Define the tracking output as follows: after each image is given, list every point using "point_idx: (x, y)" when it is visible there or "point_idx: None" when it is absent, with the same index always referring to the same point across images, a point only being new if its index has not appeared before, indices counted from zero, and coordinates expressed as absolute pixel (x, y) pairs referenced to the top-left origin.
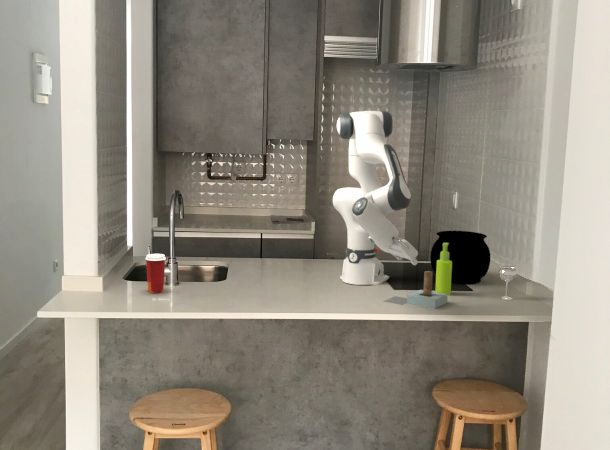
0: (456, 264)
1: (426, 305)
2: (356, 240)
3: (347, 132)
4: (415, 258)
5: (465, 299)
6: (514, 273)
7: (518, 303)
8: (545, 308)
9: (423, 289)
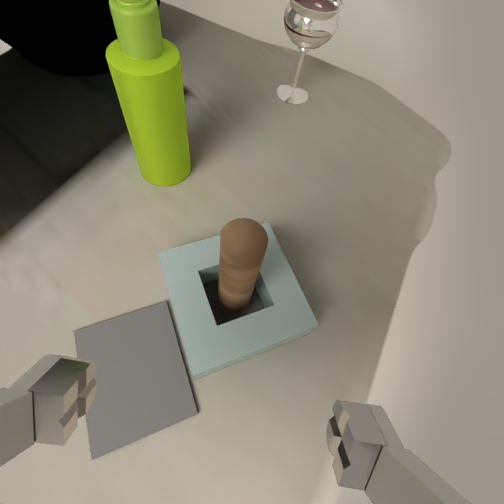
0: (102, 10)
1: (279, 344)
2: None
3: None
4: (422, 463)
5: (252, 165)
6: (338, 18)
7: (343, 107)
8: (399, 101)
9: (223, 291)
